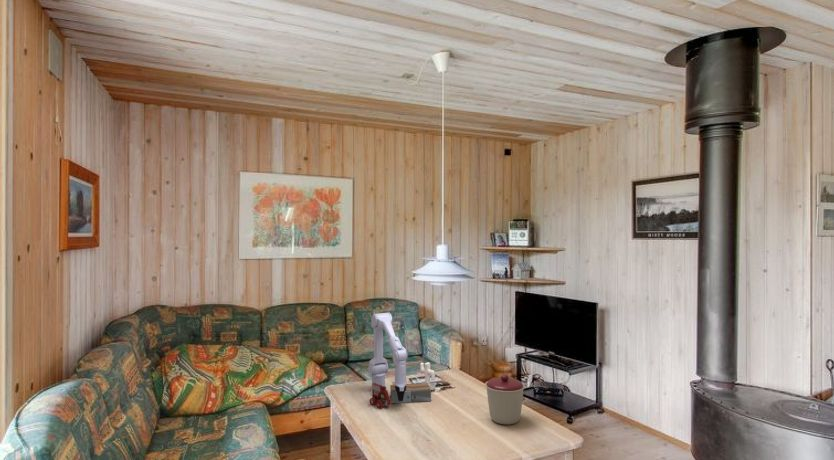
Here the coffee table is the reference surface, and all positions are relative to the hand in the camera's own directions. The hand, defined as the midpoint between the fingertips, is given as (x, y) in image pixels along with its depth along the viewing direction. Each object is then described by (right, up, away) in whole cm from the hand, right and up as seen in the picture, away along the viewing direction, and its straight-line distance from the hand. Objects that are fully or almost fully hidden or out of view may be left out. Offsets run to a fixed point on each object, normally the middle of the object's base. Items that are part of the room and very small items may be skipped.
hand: (400, 400), depth 233 cm
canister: (+49, -2, -19) cm, 52 cm away
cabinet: (+5, -3, +10) cm, 11 cm away
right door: (0, -2, +4) cm, 4 cm away
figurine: (+14, -3, +23) cm, 27 cm away
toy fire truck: (-10, -3, +1) cm, 11 cm away
